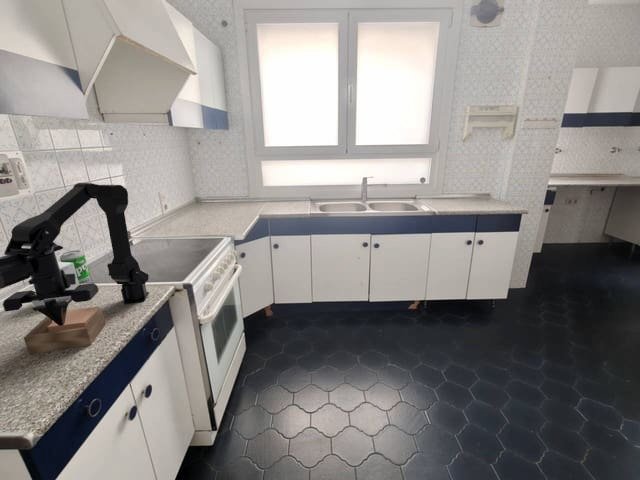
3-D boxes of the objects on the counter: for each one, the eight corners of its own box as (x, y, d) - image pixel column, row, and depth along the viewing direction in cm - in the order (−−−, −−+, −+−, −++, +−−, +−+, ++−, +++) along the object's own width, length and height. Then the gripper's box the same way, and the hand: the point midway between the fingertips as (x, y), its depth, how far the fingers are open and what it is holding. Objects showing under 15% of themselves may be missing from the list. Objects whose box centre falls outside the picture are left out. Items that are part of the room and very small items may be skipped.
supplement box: (63, 304, 105) (52, 270, 101) (45, 302, 106) (34, 269, 102) (83, 294, 112) (74, 262, 108) (66, 293, 113) (57, 261, 109)
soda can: (64, 286, 119) (55, 257, 115) (70, 279, 125) (62, 251, 121) (87, 282, 121) (80, 254, 118) (92, 275, 128) (85, 248, 124)
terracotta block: (102, 319, 96) (99, 306, 94) (88, 336, 87) (84, 322, 86) (69, 323, 94) (65, 310, 93) (52, 340, 86) (47, 326, 84)
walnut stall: (106, 323, 93) (102, 309, 91) (91, 344, 83) (86, 328, 82) (51, 331, 89) (46, 316, 88) (29, 354, 80) (23, 337, 78)
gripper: (99, 256, 88) (111, 305, 93) (21, 264, 83) (38, 314, 88) (82, 271, 78) (96, 325, 82) (-9, 281, 73) (12, 337, 78)
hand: (62, 324), depth 83 cm, fingers closed
